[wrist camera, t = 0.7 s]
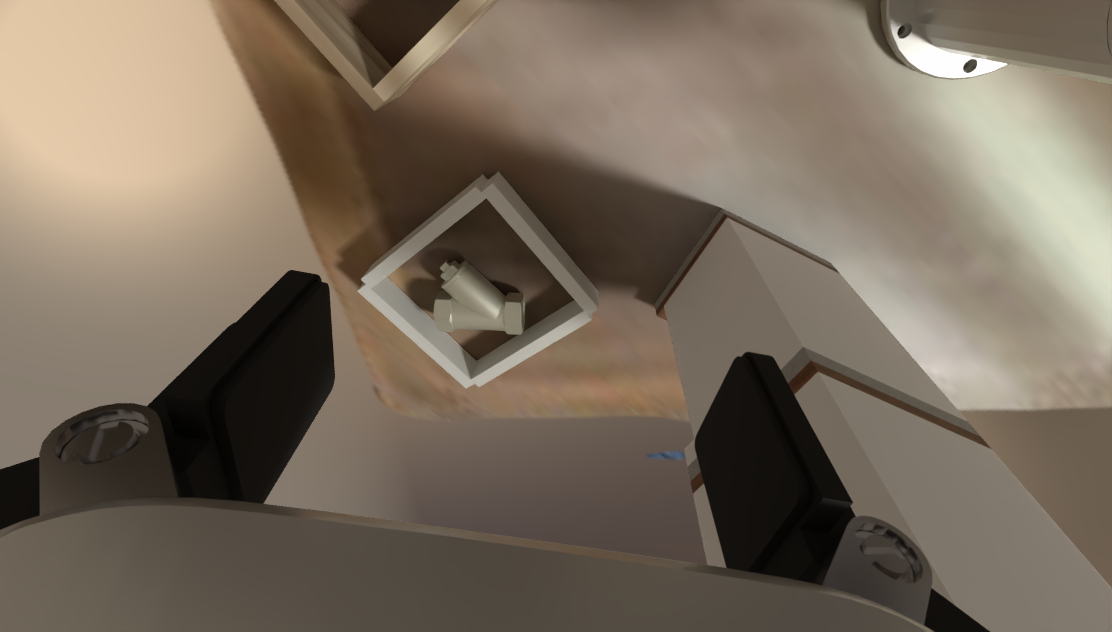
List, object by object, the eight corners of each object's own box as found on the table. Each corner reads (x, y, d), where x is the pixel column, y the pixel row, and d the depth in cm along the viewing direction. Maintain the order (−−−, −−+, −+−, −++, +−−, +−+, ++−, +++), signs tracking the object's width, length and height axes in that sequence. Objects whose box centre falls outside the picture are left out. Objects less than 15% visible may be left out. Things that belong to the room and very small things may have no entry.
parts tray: (493, 165, 41) (487, 177, 38) (602, 295, 47) (602, 313, 45) (364, 270, 47) (351, 286, 44) (475, 373, 53) (470, 392, 51)
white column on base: (654, 303, 47) (758, 818, 18) (721, 208, 42) (1027, 727, 13) (754, 348, 49) (990, 869, 20) (830, 262, 44) (1305, 812, 15)
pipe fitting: (438, 252, 46) (445, 316, 49) (427, 269, 43) (435, 336, 46) (524, 255, 46) (525, 319, 49) (519, 273, 42) (521, 340, 46)
